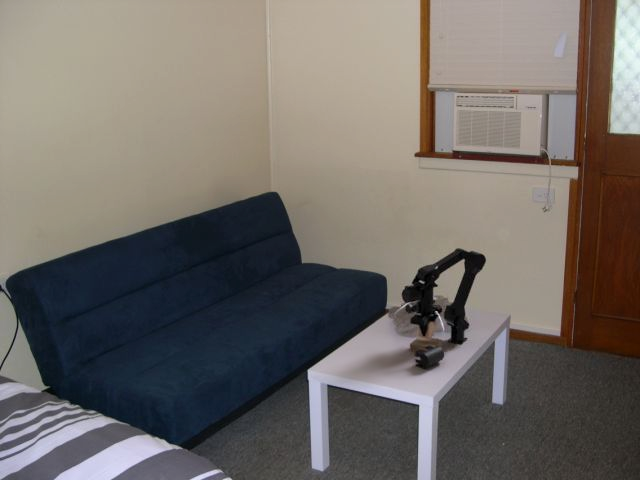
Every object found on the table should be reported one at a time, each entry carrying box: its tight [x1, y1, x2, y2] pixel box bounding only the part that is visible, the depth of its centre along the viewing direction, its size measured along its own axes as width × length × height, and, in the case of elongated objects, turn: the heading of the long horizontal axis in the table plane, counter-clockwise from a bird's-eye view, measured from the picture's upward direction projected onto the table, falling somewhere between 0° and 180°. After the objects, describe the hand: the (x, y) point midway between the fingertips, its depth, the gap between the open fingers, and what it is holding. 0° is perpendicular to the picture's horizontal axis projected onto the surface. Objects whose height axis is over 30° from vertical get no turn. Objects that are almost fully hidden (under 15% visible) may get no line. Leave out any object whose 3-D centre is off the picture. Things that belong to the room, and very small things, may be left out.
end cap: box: [414, 346, 445, 370], centre depth 300 cm, size 10×7×7 cm
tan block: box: [409, 336, 443, 353], centre depth 316 cm, size 10×10×3 cm
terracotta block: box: [418, 321, 435, 339], centre depth 314 cm, size 4×4×6 cm
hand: (426, 334), depth 315 cm, fingers closed on terracotta block, 4 cm apart
